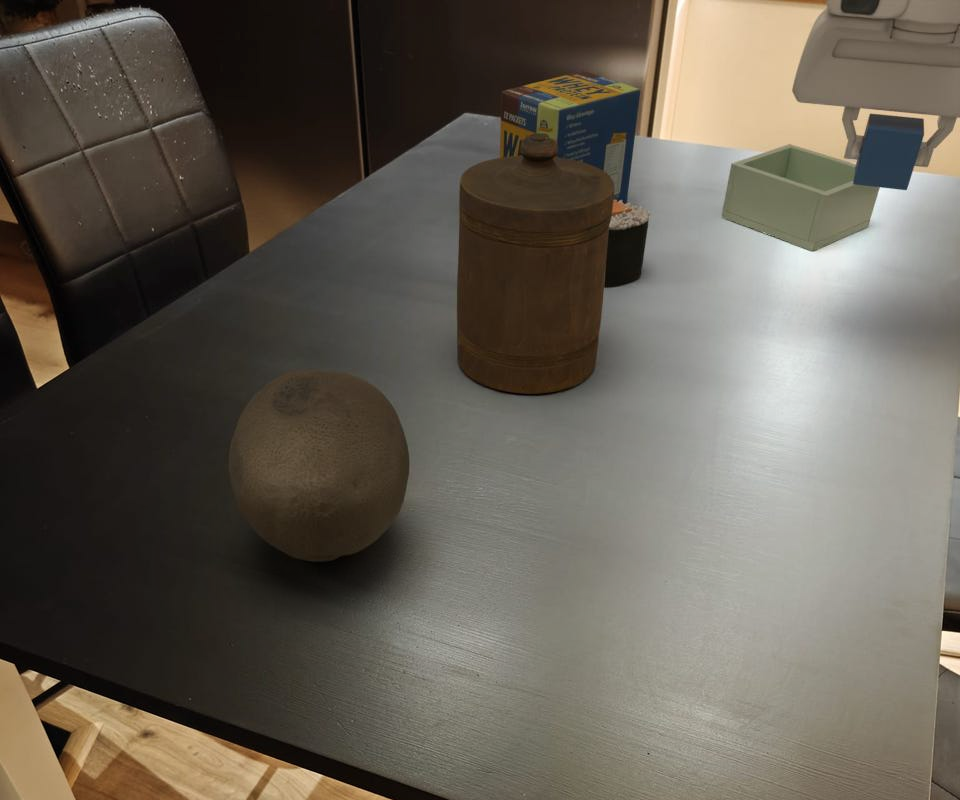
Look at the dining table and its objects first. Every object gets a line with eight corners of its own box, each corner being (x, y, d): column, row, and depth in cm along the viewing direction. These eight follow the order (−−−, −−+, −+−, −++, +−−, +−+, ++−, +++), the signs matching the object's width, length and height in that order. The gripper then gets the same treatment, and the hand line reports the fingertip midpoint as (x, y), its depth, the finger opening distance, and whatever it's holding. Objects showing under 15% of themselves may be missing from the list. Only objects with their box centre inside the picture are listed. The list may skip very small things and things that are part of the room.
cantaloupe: (207, 562, 75) (165, 396, 65) (322, 478, 84) (301, 319, 73) (342, 631, 70) (321, 462, 59) (450, 534, 78) (449, 371, 68)
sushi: (605, 292, 112) (612, 224, 106) (560, 268, 117) (565, 201, 111) (654, 276, 115) (663, 209, 110) (608, 253, 120) (616, 188, 114)
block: (907, 173, 93) (924, 118, 90) (906, 190, 90) (924, 133, 86) (854, 168, 94) (869, 113, 91) (852, 184, 91) (868, 128, 87)
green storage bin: (868, 227, 128) (884, 172, 123) (812, 251, 121) (827, 195, 116) (777, 196, 135) (789, 143, 131) (721, 217, 129) (731, 163, 124)
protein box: (496, 217, 128) (499, 90, 117) (574, 191, 136) (584, 69, 125) (549, 240, 123) (558, 109, 112) (628, 212, 130) (643, 86, 119)
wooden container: (620, 352, 101) (648, 130, 86) (549, 411, 92) (567, 175, 77) (506, 315, 107) (513, 101, 92) (429, 367, 98) (422, 140, 83)
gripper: (1060, -8, 81) (997, 162, 91) (817, -24, 85) (782, 140, 95) (1068, 6, 77) (1001, 184, 86) (812, -11, 81) (776, 159, 91)
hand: (884, 161), depth 91 cm, fingers closed on block, 5 cm apart
